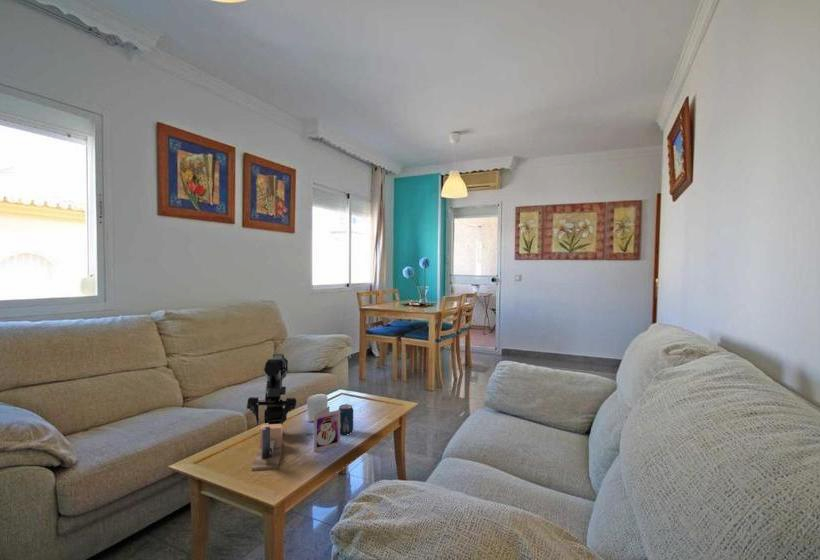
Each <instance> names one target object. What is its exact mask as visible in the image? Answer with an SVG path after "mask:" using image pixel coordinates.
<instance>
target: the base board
mask: <svg viewBox="0 0 820 560" xmlns="http://www.w3.org/2000/svg"><path fill="white" fill-rule="evenodd" d="M283 447H284V441H282V445H281V447H279V448H276V449H275V453H274V456H273V458H271V459H268V460H263V459H261V449H260V446H259V447H258V450H257V453H256V455H255V458H254V460H253V463H252V466H251V471H262V470H264V471H265V470H272V469H273V470H274V469H278V467H279V463H280V460H281V456H282V451H283Z"/></svg>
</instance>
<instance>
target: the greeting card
mask: <svg viewBox="0 0 820 560" xmlns="http://www.w3.org/2000/svg"><path fill="white" fill-rule="evenodd" d="M313 422H314V423H313V453H315V451H316V452H320V451H323V450H327V449H330V448H329V447H331V448H334V447H337V446H336V445H338V446H340V445H339V444H341V435H340V410H339V409H338V410H334V411H330V406H327V408H325V409H324V410H322V411H321V412H319V413H317V414H316V415H314V421H313ZM333 446H334V447H333ZM326 448H327V449H326ZM322 449H323V450H322ZM319 450H320V451H319Z"/></svg>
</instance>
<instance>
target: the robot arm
mask: <svg viewBox="0 0 820 560" xmlns="http://www.w3.org/2000/svg"><path fill="white" fill-rule="evenodd" d="M287 372H289V360H288V359H287V358H286V357H285V354H283V353H277V354H273V355H272V358H271V359H270V358H269V359H267V361H265V365H264V374H265V379H266V385H265V396H264V399H263V400H261V399H259V397H258V396H257V397H255V396H253V397H252V396H250V397H248V398H247V400H246V401H247V402H246V410H249V411H251V412H252V413H253V416H254V419H255V423H256V426H258V425H259V421H260V420H259V419H260V418H259V417H260V416H259V415H260V414H259V409H260V408H259V406H266V408H265V409H264V414H263V415H264V417H263V418H264V424H267V425H269V424H282V426H283V425H284V423H285V421H287V415H288V413H289V412H291V411H293V410H294V409H295V408H296V406H297V398H296V397H286V399H285V400H283V399H282V396H285V395H286V389H287V387H286V386H283V380H284V379H285V378H286V377H287ZM283 436H284V433H283V430H282V437H283Z"/></svg>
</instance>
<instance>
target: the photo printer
mask: <svg viewBox="0 0 820 560" xmlns="http://www.w3.org/2000/svg"><path fill="white" fill-rule="evenodd" d="M328 400H329V399H328V395H327V394H324V393H318V394H316V393H315V394H313V395H310V396H308V397H307V400H306V422H314V415H316V414H317V413H319V412H321V411H322V410H324V409H325V408H327V407H328Z"/></svg>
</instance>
